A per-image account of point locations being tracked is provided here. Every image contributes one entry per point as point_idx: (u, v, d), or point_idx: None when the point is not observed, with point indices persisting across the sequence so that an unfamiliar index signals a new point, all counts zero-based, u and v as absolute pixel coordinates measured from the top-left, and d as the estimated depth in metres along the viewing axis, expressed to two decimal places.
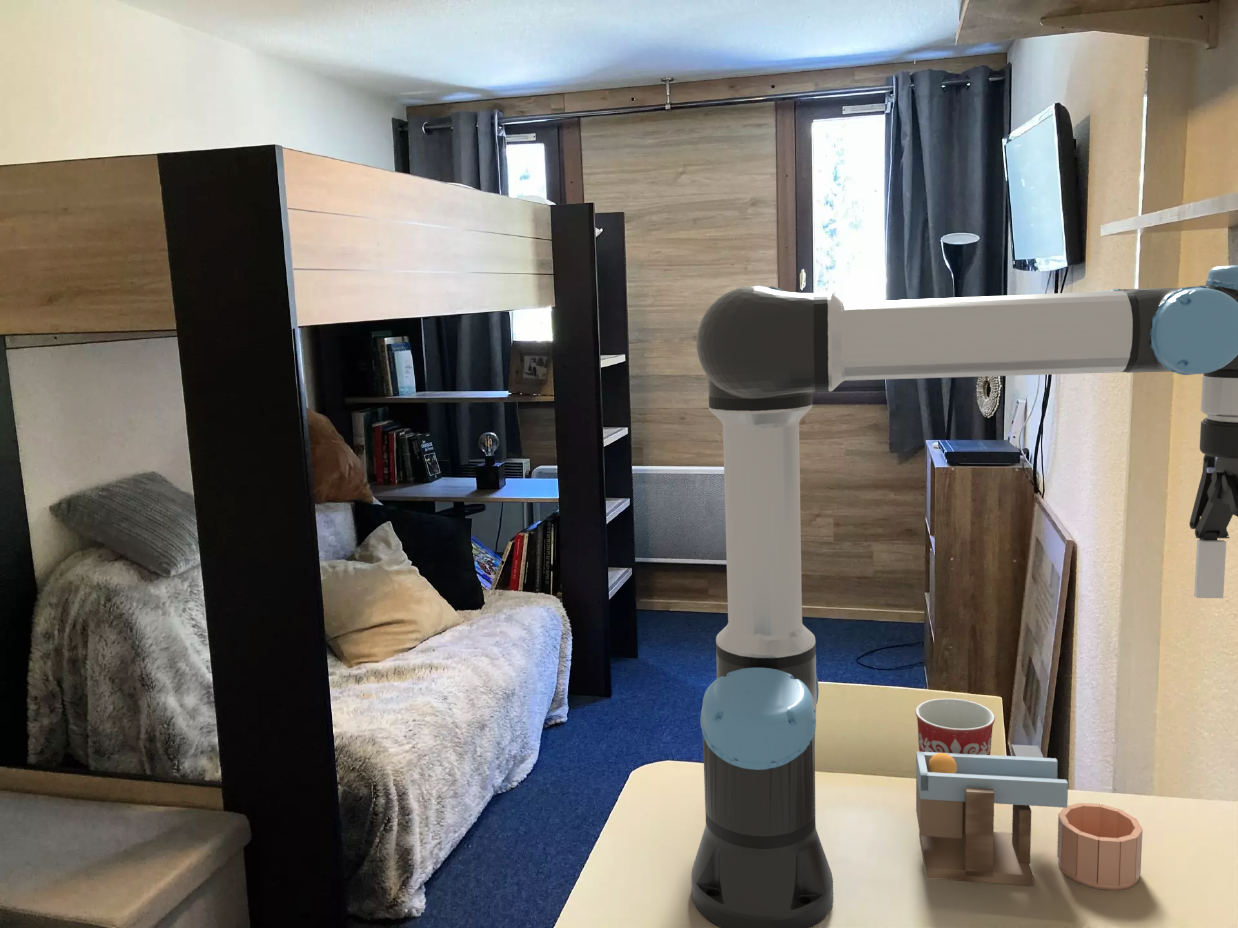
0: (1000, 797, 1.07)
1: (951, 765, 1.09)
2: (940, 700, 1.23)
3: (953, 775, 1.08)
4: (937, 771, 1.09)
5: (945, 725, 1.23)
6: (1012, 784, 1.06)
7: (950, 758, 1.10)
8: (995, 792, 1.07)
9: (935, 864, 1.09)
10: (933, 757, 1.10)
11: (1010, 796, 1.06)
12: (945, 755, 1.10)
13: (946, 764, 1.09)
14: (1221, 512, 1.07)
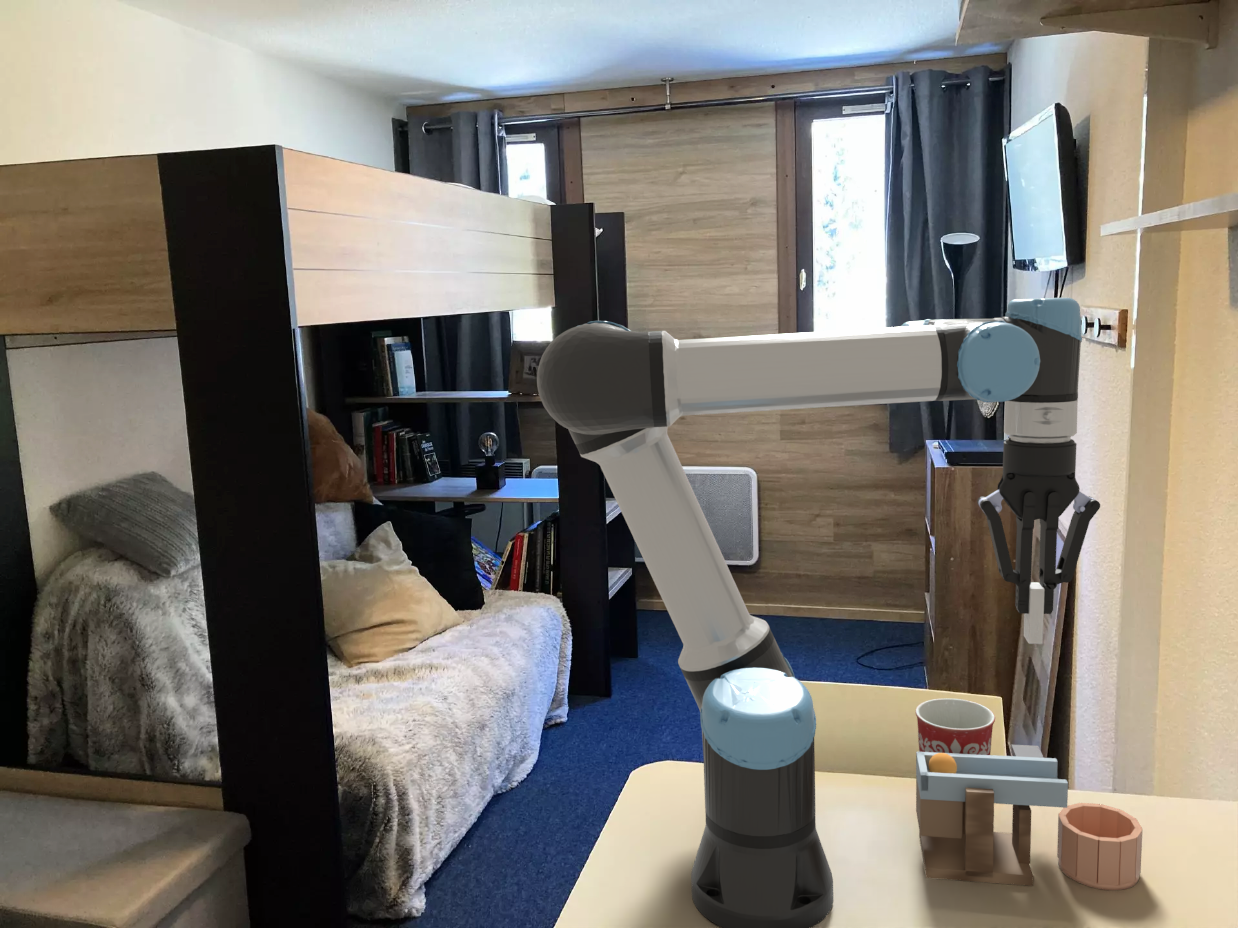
0: (1000, 797, 1.07)
1: (951, 765, 1.09)
2: (940, 700, 1.23)
3: (953, 775, 1.08)
4: (937, 771, 1.09)
5: (945, 725, 1.23)
6: (1012, 784, 1.06)
7: (950, 758, 1.10)
8: (995, 792, 1.07)
9: (935, 864, 1.09)
10: (933, 757, 1.10)
11: (1010, 796, 1.06)
12: (945, 755, 1.10)
13: (946, 764, 1.09)
14: (1042, 540, 1.12)
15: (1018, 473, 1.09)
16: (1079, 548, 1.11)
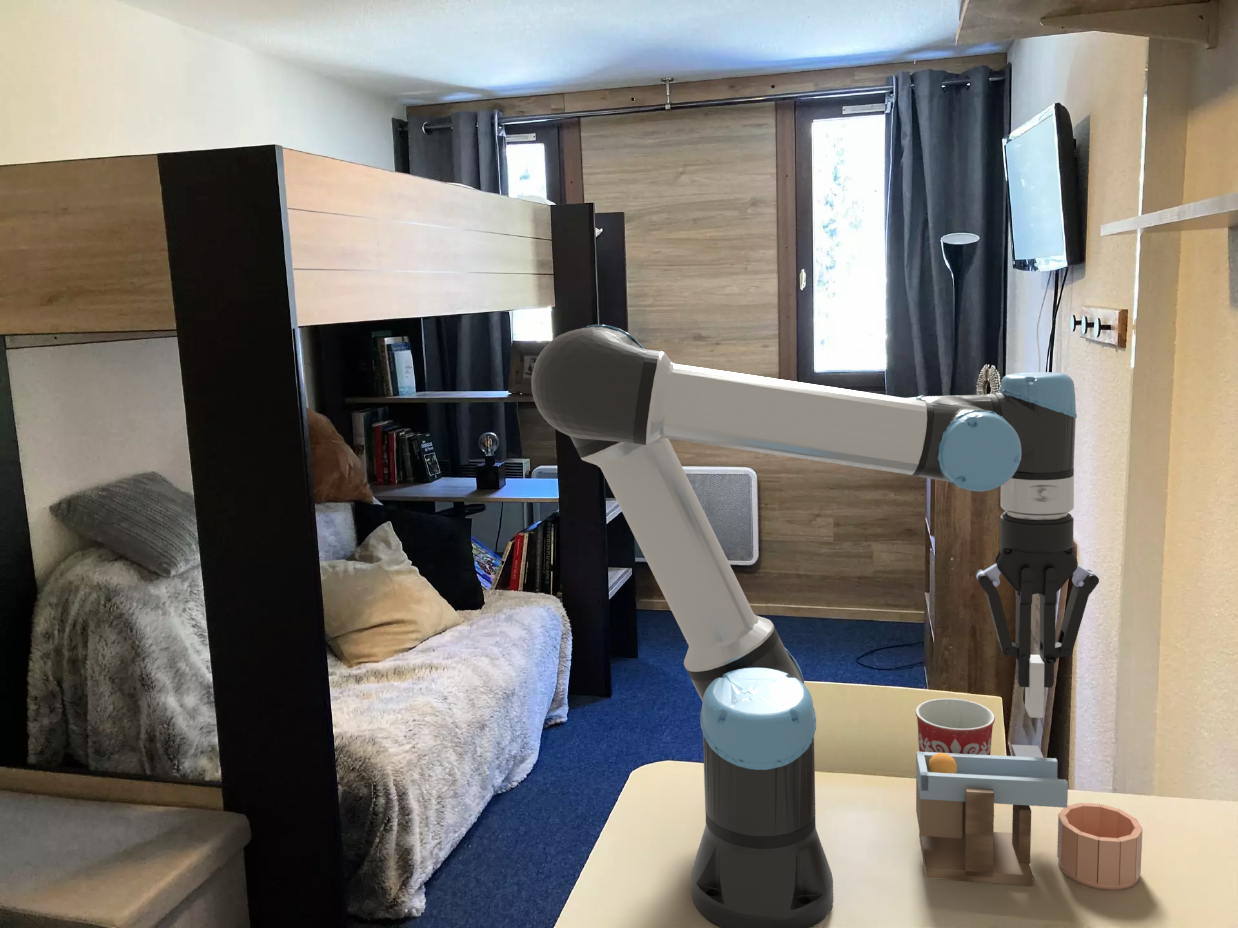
0: (1000, 797, 1.07)
1: (951, 765, 1.09)
2: (940, 700, 1.23)
3: (953, 775, 1.08)
4: (937, 771, 1.09)
5: (945, 725, 1.23)
6: (1012, 784, 1.06)
7: (950, 758, 1.10)
8: (995, 792, 1.07)
9: (935, 864, 1.09)
10: (933, 757, 1.10)
11: (1010, 796, 1.06)
12: (945, 755, 1.10)
13: (946, 764, 1.09)
14: (1041, 614, 1.12)
15: (1014, 549, 1.09)
16: (1078, 623, 1.10)
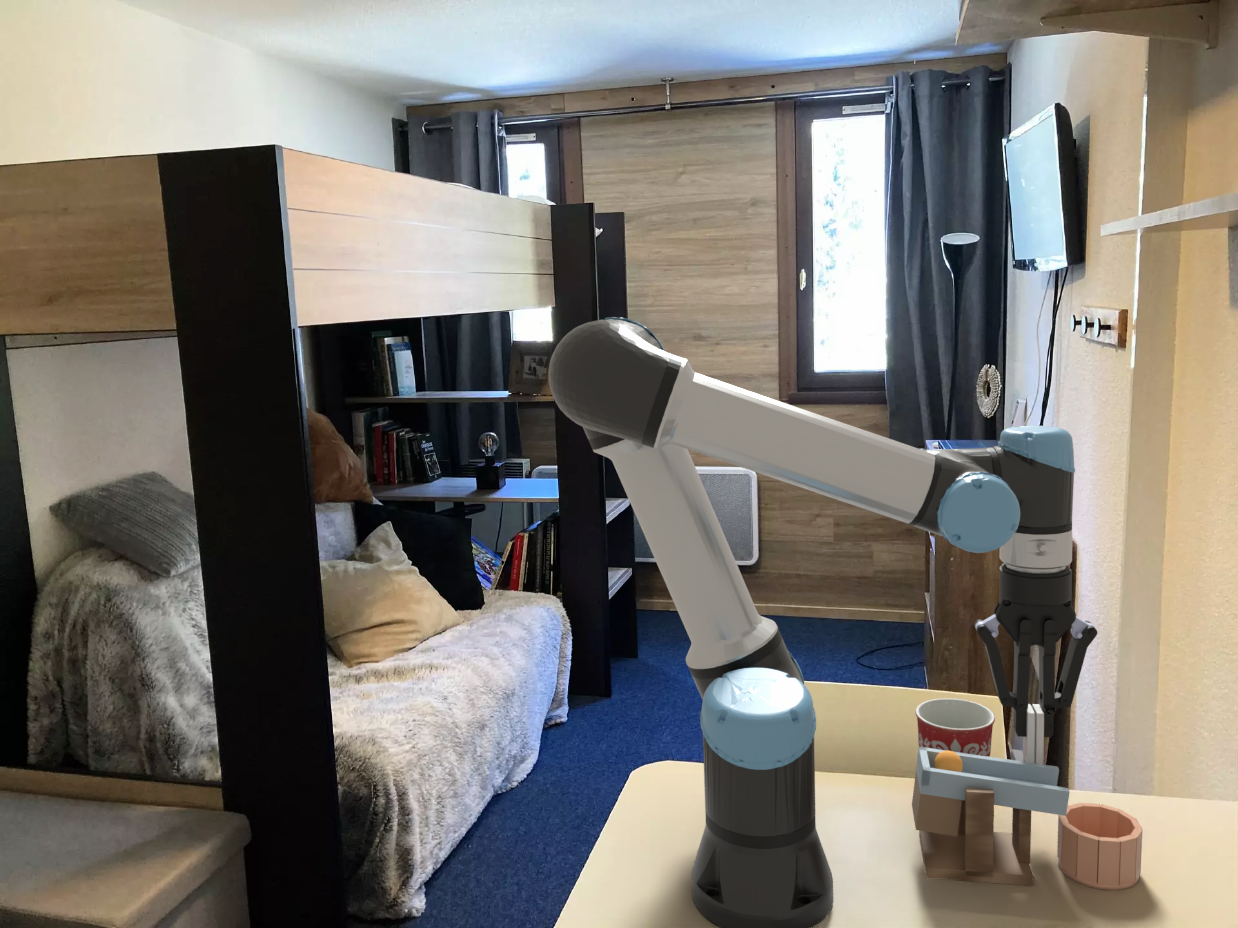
0: (1000, 799, 1.07)
1: (959, 765, 1.09)
2: (940, 700, 1.23)
3: (955, 773, 1.08)
4: (943, 767, 1.09)
5: (945, 725, 1.23)
6: (1014, 787, 1.06)
7: (959, 759, 1.09)
8: (996, 794, 1.07)
9: (935, 864, 1.09)
10: (943, 753, 1.10)
11: (1010, 799, 1.06)
12: (956, 755, 1.10)
13: (955, 763, 1.09)
14: (1041, 665, 1.13)
15: (1013, 601, 1.10)
16: (1077, 674, 1.11)
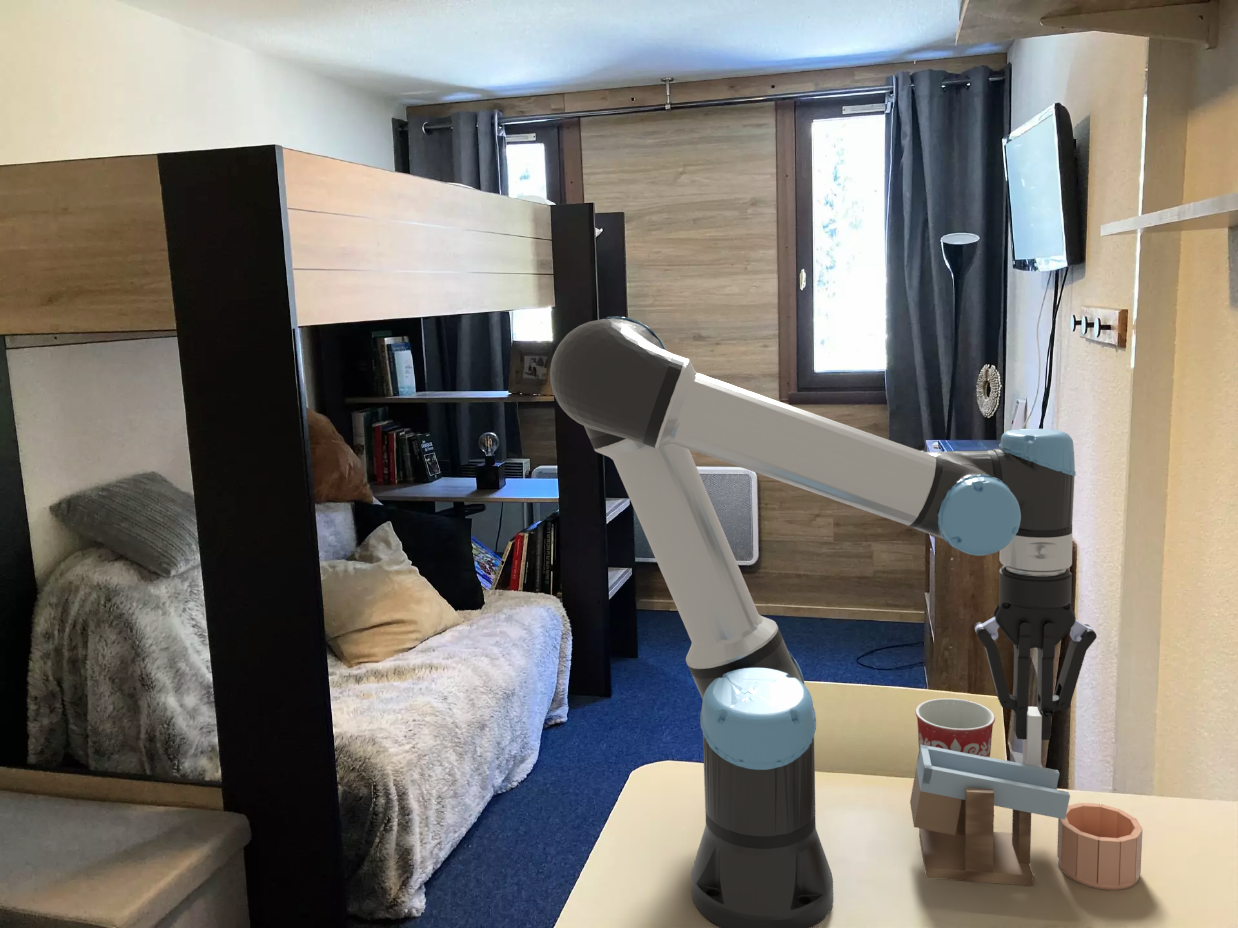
0: (1000, 800, 1.07)
1: None
2: (940, 700, 1.23)
3: (957, 772, 1.08)
4: None
5: (945, 725, 1.23)
6: (1014, 789, 1.06)
7: None
8: (996, 794, 1.07)
9: (935, 864, 1.09)
10: None
11: (1010, 800, 1.06)
12: None
13: None
14: (1039, 667, 1.13)
15: (1013, 604, 1.10)
16: (1076, 677, 1.11)
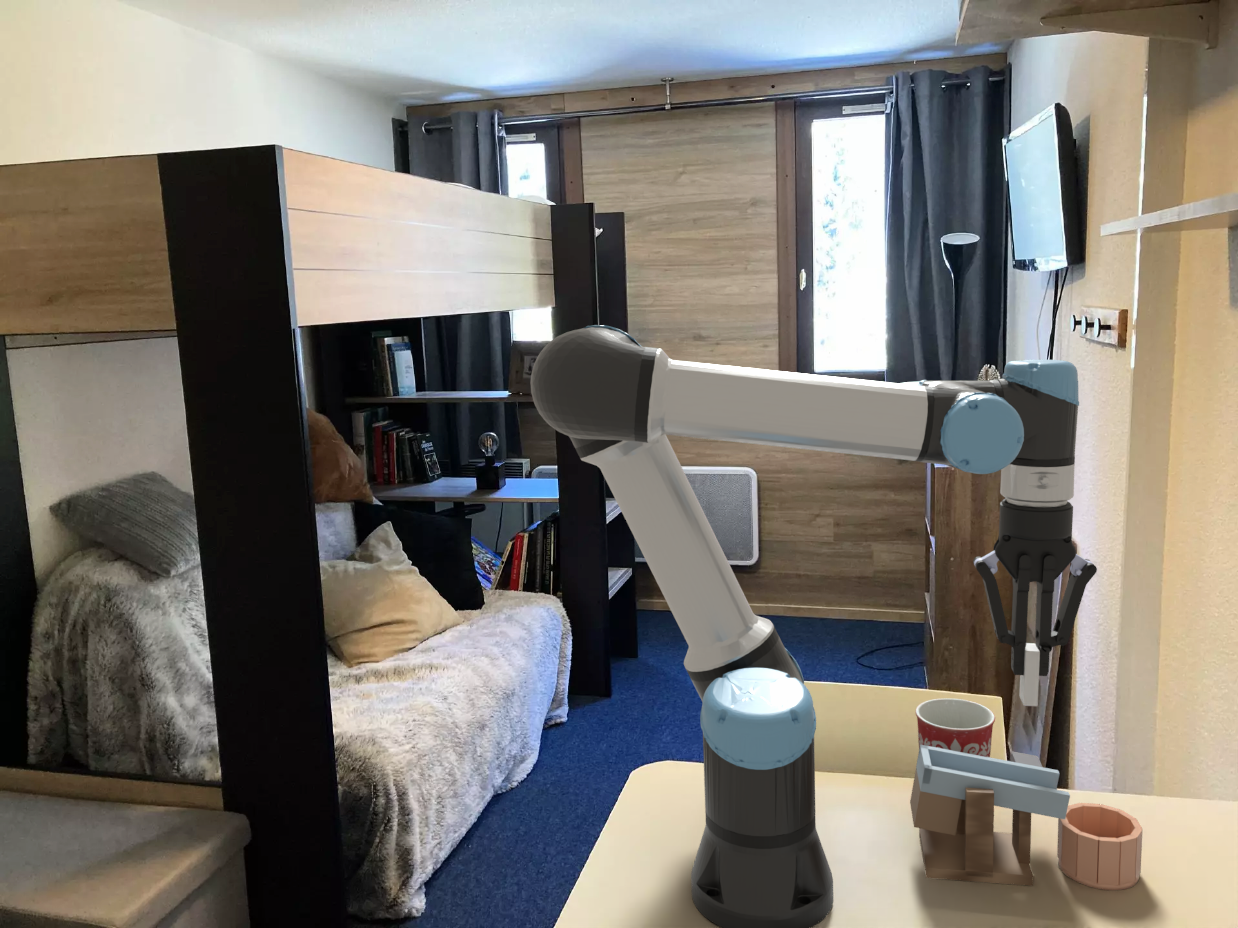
0: (1000, 800, 1.07)
1: None
2: (940, 700, 1.23)
3: (957, 772, 1.08)
4: None
5: (945, 725, 1.23)
6: (1014, 789, 1.06)
7: None
8: (996, 794, 1.07)
9: (935, 864, 1.09)
10: None
11: (1010, 800, 1.06)
12: None
13: None
14: (1038, 602, 1.12)
15: (1013, 536, 1.09)
16: (1075, 611, 1.10)
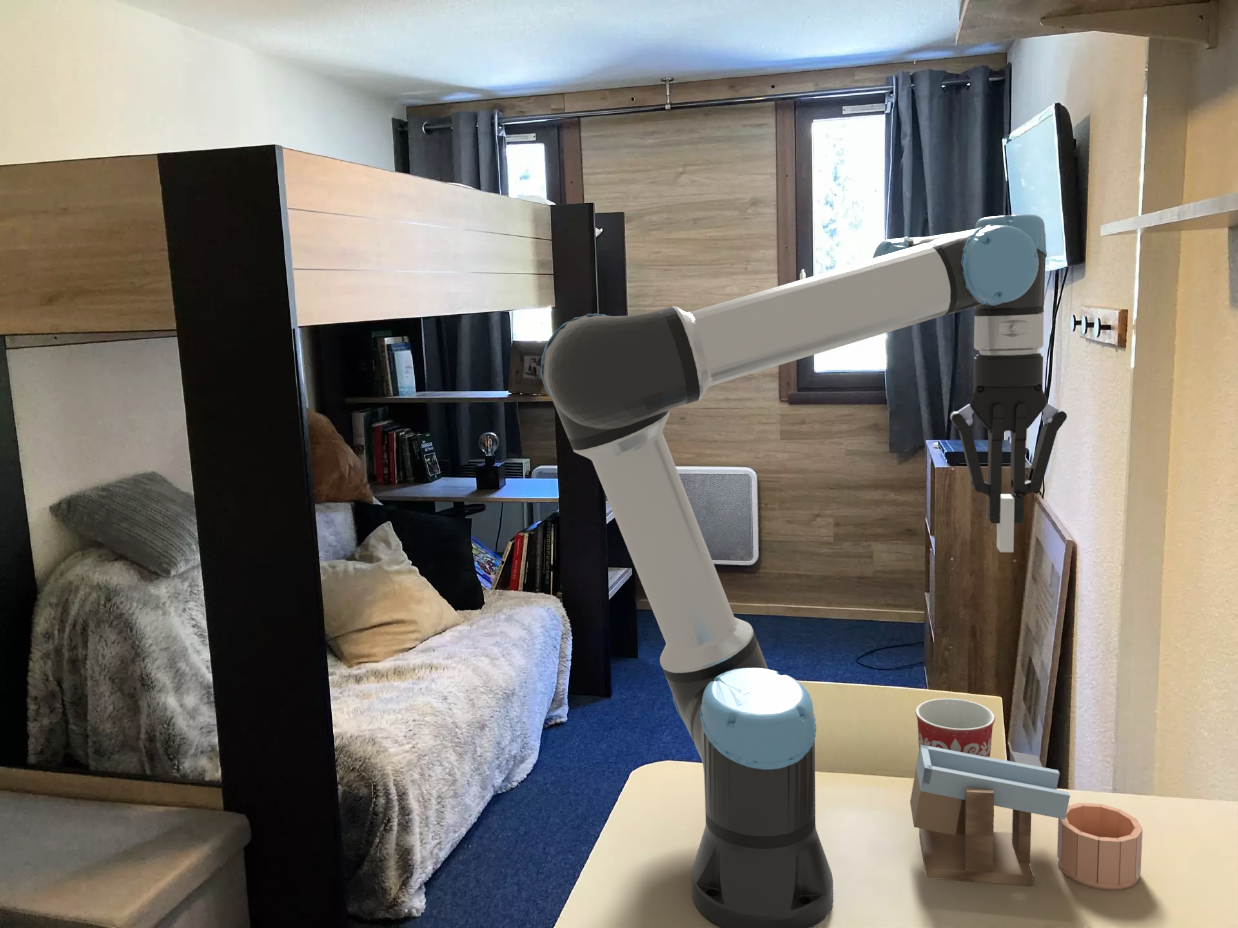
0: (1000, 800, 1.07)
1: None
2: (940, 700, 1.23)
3: (957, 772, 1.08)
4: None
5: (945, 725, 1.23)
6: (1014, 789, 1.06)
7: None
8: (996, 794, 1.07)
9: (935, 864, 1.09)
10: None
11: (1010, 800, 1.06)
12: None
13: None
14: (1012, 452, 1.17)
15: (986, 385, 1.14)
16: (1047, 458, 1.15)
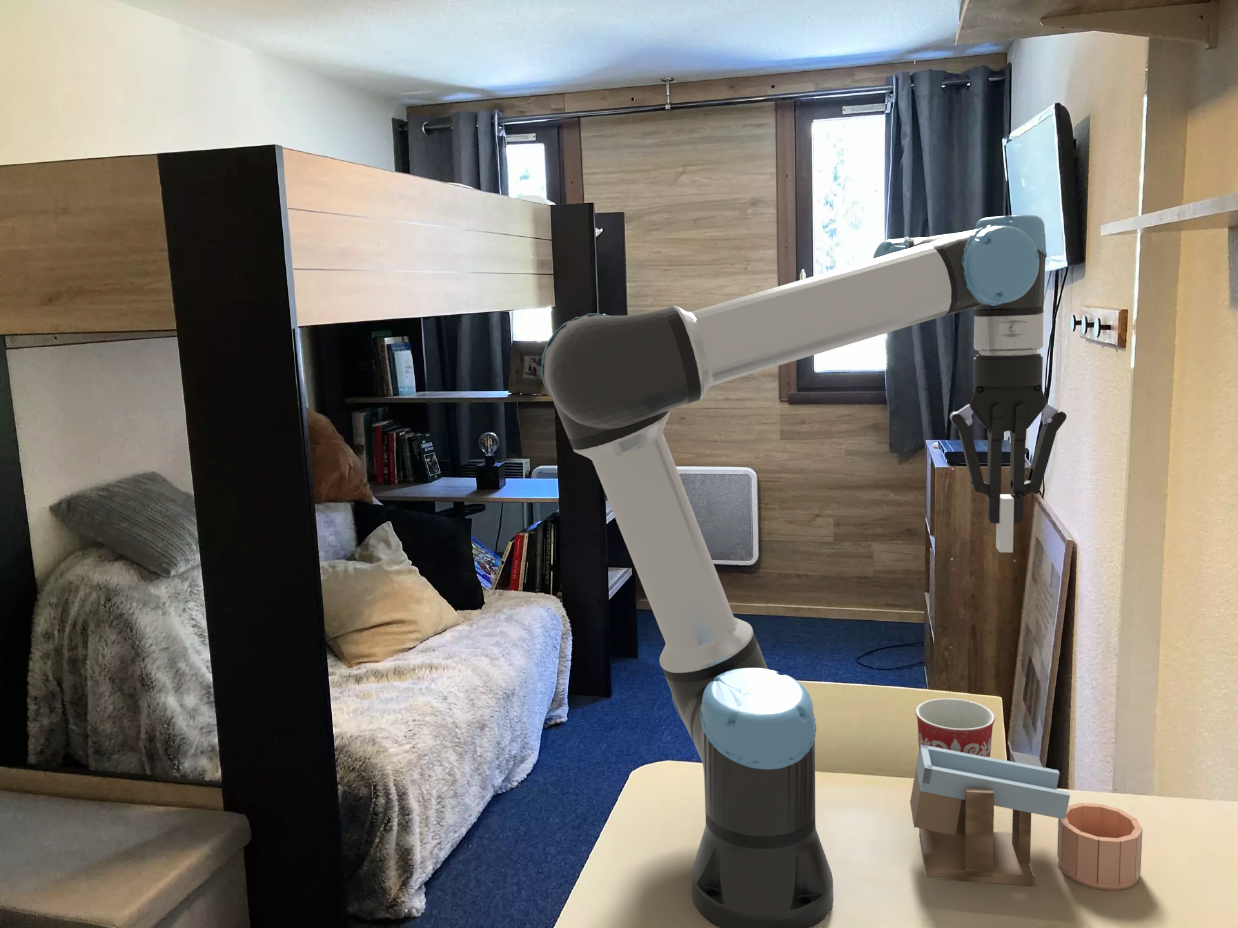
0: (1000, 800, 1.07)
1: None
2: (940, 700, 1.23)
3: (957, 772, 1.08)
4: None
5: (945, 725, 1.23)
6: (1014, 789, 1.06)
7: None
8: (996, 794, 1.07)
9: (935, 864, 1.09)
10: None
11: (1010, 800, 1.06)
12: None
13: None
14: (1012, 452, 1.17)
15: (986, 386, 1.14)
16: (1047, 458, 1.15)
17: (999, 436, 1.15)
